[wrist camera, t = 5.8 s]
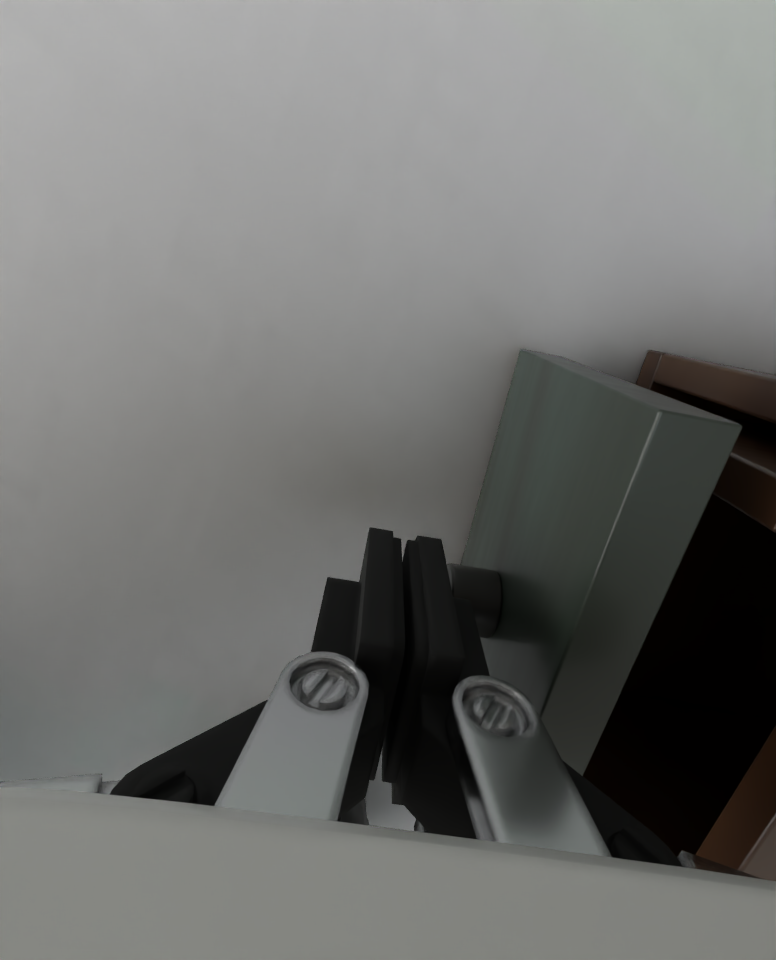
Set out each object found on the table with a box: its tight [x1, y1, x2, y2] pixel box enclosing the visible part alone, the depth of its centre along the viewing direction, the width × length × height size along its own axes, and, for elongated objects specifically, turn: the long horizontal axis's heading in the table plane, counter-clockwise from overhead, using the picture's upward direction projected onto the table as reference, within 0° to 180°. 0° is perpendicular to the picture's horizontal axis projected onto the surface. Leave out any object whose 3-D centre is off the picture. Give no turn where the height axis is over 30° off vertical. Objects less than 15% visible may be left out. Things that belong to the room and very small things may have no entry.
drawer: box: [447, 349, 776, 857], centre depth 12 cm, size 15×11×7 cm
